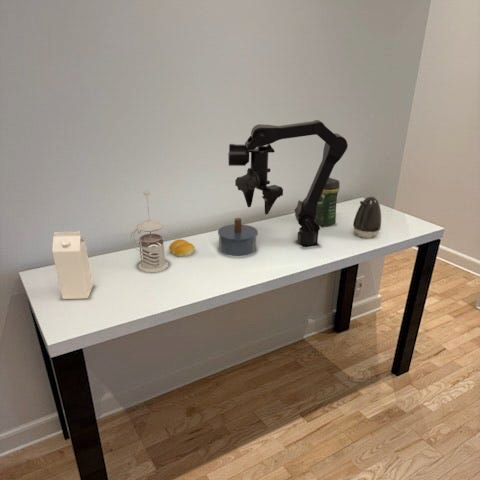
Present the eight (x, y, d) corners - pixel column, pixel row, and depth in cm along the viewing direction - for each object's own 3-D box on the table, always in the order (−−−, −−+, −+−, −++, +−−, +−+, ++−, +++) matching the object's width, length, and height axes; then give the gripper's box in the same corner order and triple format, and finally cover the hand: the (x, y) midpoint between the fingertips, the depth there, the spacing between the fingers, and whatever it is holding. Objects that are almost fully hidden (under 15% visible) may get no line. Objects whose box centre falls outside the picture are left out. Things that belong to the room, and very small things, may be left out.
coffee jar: (338, 224, 180) (344, 179, 171) (324, 228, 176) (329, 182, 167) (321, 217, 187) (326, 173, 178) (307, 220, 183) (311, 176, 174)
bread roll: (180, 259, 150) (179, 248, 148) (166, 251, 156) (165, 240, 154) (200, 253, 154) (199, 242, 152) (185, 245, 160) (185, 234, 158)
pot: (248, 240, 164) (248, 224, 161) (260, 254, 154) (261, 237, 151) (215, 245, 161) (214, 228, 158) (225, 259, 150) (225, 241, 147)
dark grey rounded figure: (345, 233, 172) (351, 195, 164) (365, 228, 177) (371, 191, 169) (364, 242, 164) (371, 203, 157) (384, 237, 169) (392, 198, 161)
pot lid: (249, 225, 162) (250, 210, 159) (263, 239, 151) (264, 224, 148) (213, 229, 158) (213, 214, 155) (224, 244, 147) (224, 228, 144)
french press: (160, 274, 140) (153, 197, 128) (127, 268, 143) (118, 193, 131) (173, 261, 149) (168, 187, 136) (142, 256, 151) (134, 184, 139)
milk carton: (68, 287, 132) (56, 227, 123) (93, 286, 133) (82, 227, 123) (62, 299, 126) (49, 237, 117) (88, 298, 127) (76, 237, 117)
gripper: (222, 163, 149) (223, 208, 157) (259, 175, 136) (257, 223, 144) (248, 158, 155) (247, 202, 163) (285, 170, 143) (282, 216, 150)
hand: (257, 210), depth 155 cm, fingers open, 9 cm apart
